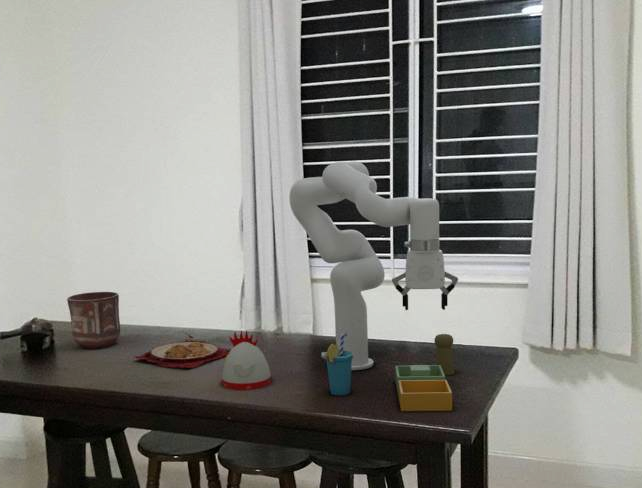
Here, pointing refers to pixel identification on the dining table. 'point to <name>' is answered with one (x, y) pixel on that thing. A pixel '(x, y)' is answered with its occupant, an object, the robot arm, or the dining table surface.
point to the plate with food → (184, 354)
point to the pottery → (95, 319)
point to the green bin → (404, 374)
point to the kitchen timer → (245, 365)
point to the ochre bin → (424, 395)
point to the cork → (444, 353)
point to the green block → (419, 370)
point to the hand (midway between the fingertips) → (424, 309)
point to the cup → (339, 368)
